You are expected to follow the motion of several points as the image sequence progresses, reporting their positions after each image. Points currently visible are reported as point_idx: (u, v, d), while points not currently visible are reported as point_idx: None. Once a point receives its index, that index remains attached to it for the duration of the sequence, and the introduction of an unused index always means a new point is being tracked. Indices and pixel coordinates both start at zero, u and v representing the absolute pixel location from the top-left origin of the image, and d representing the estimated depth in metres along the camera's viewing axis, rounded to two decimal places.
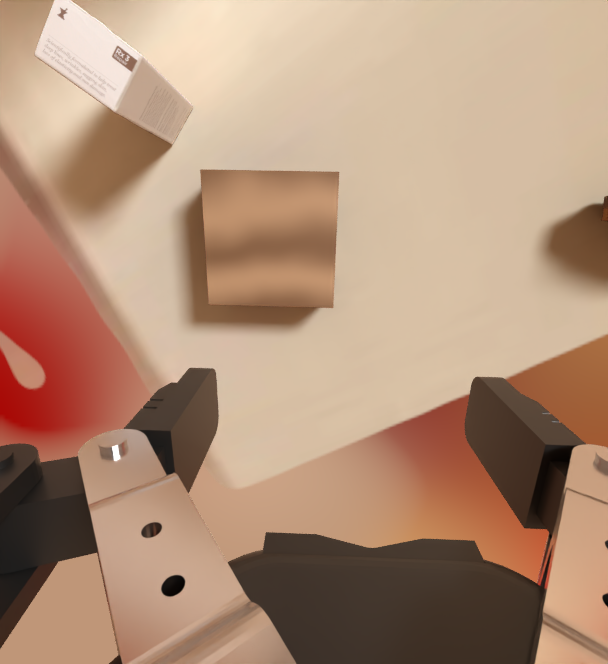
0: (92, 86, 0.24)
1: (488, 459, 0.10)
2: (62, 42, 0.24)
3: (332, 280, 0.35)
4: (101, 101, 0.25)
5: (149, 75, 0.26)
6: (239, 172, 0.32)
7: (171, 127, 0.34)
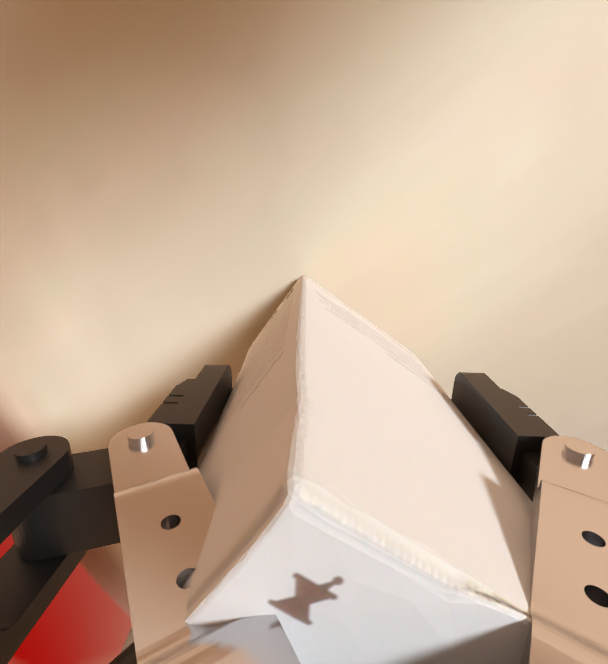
0: None
1: None
2: None
3: None
4: None
5: None
6: None
7: None
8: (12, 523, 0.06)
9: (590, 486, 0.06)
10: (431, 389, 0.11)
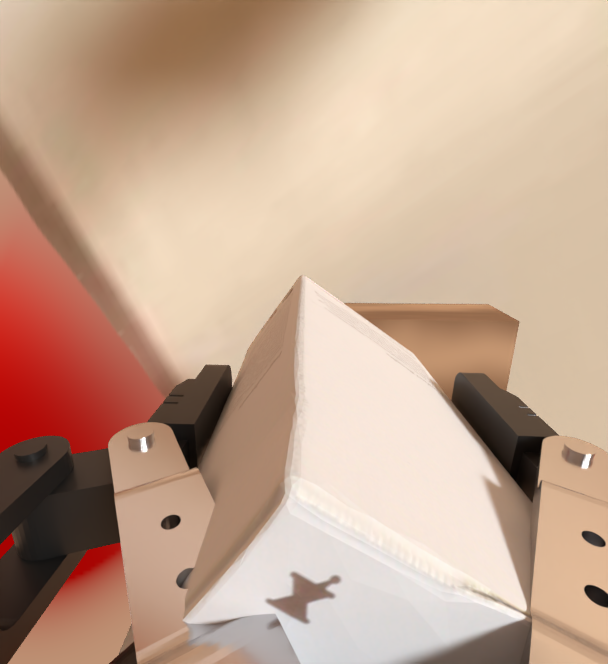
0: None
1: None
2: None
3: None
4: None
5: None
6: (397, 322, 0.27)
7: None
8: (12, 523, 0.06)
9: (590, 486, 0.06)
10: (430, 389, 0.11)
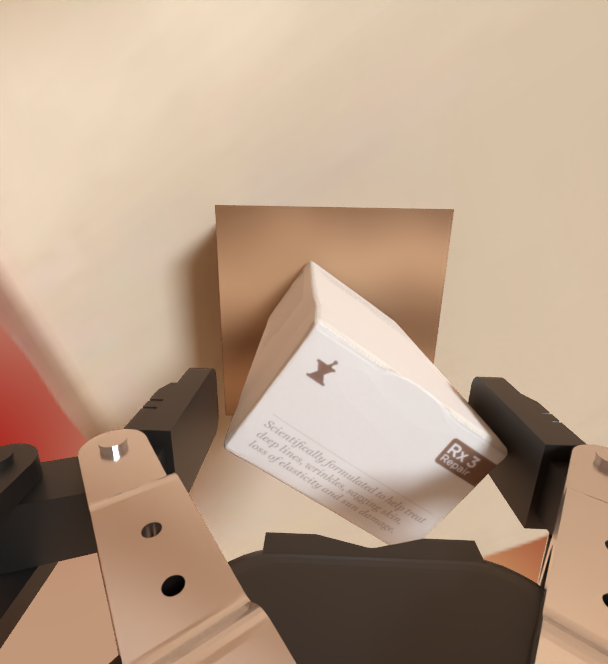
0: (366, 513, 0.09)
1: None
2: (308, 432, 0.09)
3: None
4: (379, 537, 0.10)
5: None
6: (282, 210, 0.19)
7: None
8: None
9: None
10: (400, 334, 0.15)
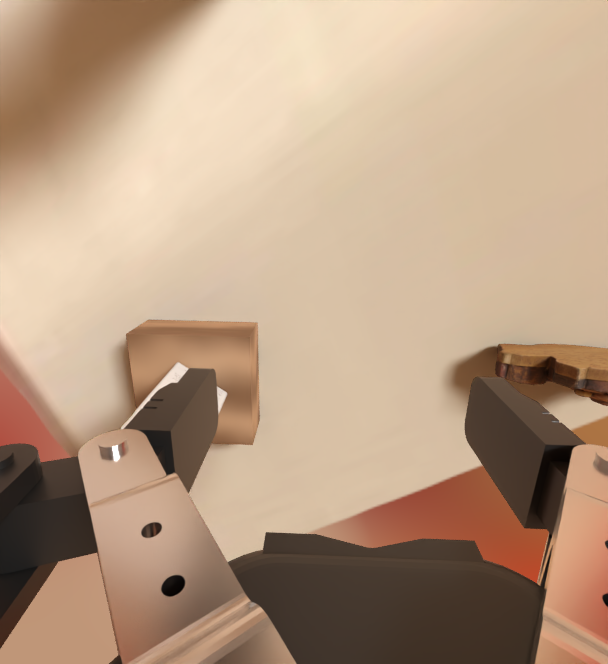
0: None
1: (488, 459, 0.10)
2: None
3: (250, 423, 0.39)
4: None
5: None
6: (161, 336, 0.36)
7: None
8: None
9: None
10: None
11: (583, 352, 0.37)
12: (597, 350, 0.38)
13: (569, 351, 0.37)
